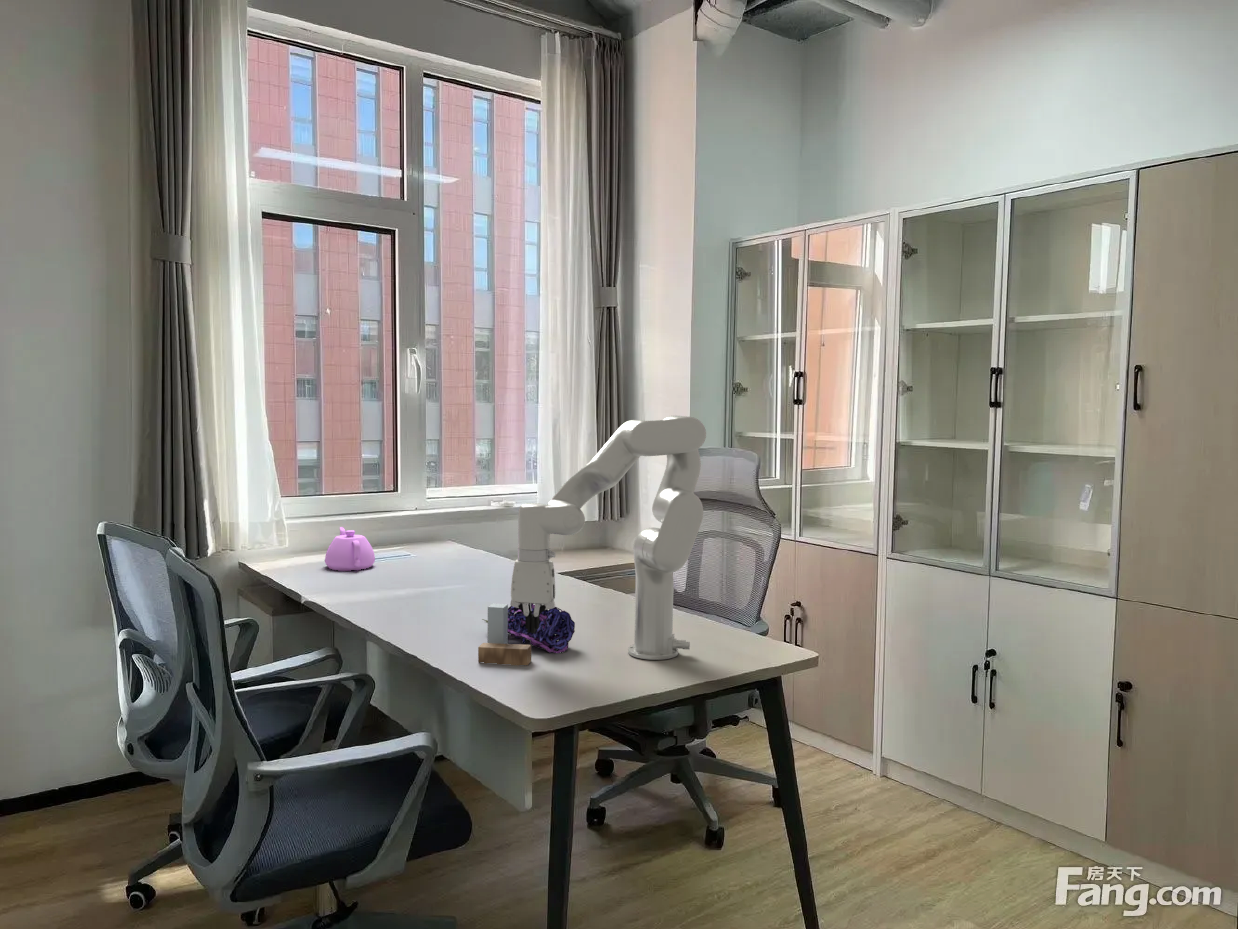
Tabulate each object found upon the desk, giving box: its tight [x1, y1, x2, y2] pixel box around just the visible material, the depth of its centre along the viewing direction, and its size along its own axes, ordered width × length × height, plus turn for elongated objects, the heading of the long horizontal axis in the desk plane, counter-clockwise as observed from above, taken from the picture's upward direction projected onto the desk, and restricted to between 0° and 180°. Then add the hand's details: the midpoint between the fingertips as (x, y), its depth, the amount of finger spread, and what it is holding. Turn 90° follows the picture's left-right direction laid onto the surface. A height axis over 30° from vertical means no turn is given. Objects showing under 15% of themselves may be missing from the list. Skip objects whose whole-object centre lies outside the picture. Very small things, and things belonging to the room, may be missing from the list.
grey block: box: [486, 603, 509, 644], centre depth 228 cm, size 4×4×12 cm
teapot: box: [324, 526, 376, 572], centre depth 338 cm, size 25×18×14 cm
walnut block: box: [477, 642, 532, 666], centre depth 220 cm, size 4×4×12 cm
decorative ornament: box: [481, 604, 576, 654], centre depth 240 cm, size 13×11×30 cm
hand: (532, 631), depth 219 cm, fingers closed
